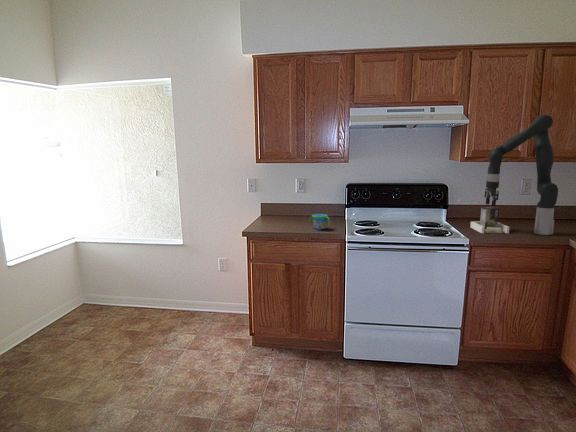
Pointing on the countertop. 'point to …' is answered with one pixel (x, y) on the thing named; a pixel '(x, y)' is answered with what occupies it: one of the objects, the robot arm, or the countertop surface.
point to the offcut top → (493, 229)
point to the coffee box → (489, 217)
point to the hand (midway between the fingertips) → (490, 205)
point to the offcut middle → (492, 231)
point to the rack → (480, 228)
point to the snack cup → (319, 221)
